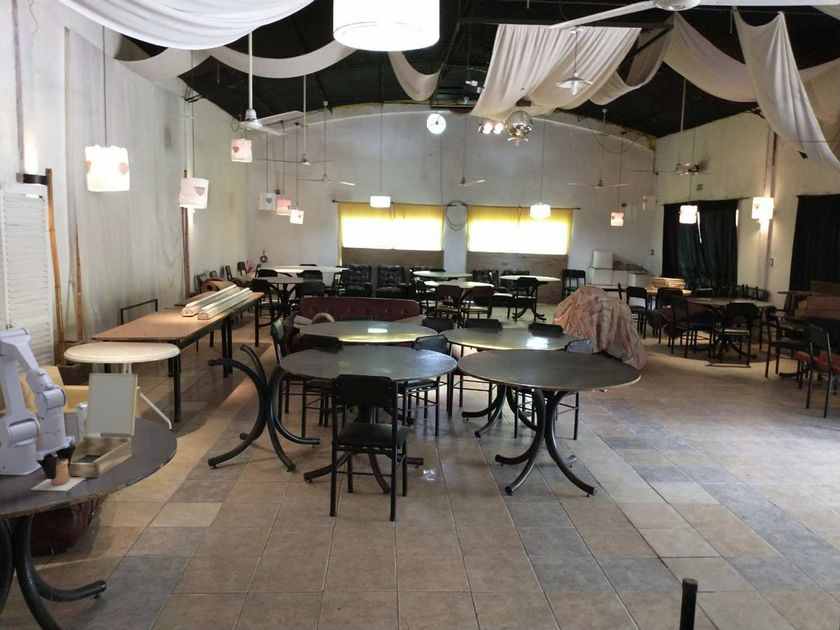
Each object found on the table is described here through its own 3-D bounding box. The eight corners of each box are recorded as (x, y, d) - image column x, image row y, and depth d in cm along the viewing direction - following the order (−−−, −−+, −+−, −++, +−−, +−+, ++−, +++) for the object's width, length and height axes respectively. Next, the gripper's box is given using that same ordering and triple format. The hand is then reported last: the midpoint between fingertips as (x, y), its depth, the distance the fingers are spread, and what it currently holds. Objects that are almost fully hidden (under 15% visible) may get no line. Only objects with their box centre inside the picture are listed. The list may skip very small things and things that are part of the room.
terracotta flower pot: (45, 485, 183) (42, 465, 182) (58, 476, 189) (54, 457, 187) (63, 485, 183) (59, 466, 181) (75, 476, 188) (72, 457, 186)
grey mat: (30, 489, 181) (30, 488, 181) (52, 477, 190) (52, 476, 190) (66, 491, 180) (66, 490, 180) (86, 478, 189) (86, 477, 189)
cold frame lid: (89, 373, 211) (91, 373, 212) (85, 433, 209) (86, 433, 210) (136, 373, 209) (137, 373, 210) (132, 435, 207) (133, 435, 208)
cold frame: (48, 475, 192) (46, 456, 191) (86, 453, 209) (85, 436, 208) (98, 477, 190) (96, 458, 189) (132, 455, 207) (130, 437, 206)
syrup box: (95, 439, 223) (92, 399, 220) (103, 443, 219) (99, 402, 217) (78, 444, 218) (74, 403, 216) (86, 448, 214) (82, 406, 212)
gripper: (48, 438, 175) (53, 485, 177) (82, 422, 189) (86, 465, 191) (25, 438, 176) (30, 484, 178) (60, 421, 190) (65, 464, 192)
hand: (58, 474), depth 185 cm, fingers closed on terracotta flower pot, 5 cm apart
